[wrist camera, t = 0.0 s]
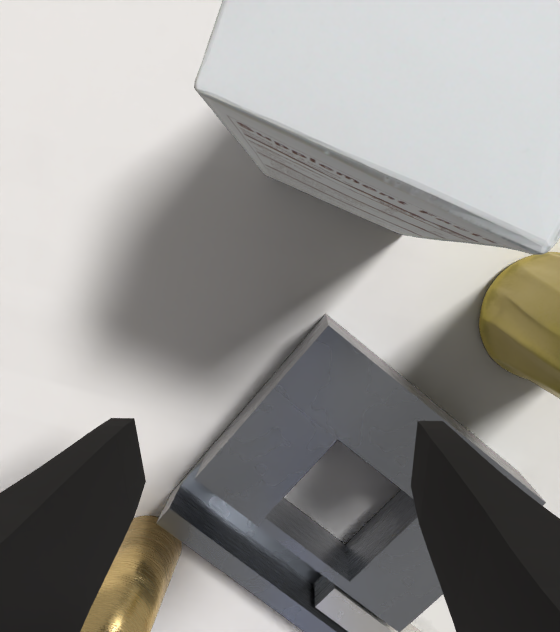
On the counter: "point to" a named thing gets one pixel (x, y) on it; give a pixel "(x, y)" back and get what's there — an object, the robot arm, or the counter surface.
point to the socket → (294, 462)
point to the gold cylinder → (135, 580)
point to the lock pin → (349, 610)
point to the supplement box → (401, 110)
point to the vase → (525, 320)
